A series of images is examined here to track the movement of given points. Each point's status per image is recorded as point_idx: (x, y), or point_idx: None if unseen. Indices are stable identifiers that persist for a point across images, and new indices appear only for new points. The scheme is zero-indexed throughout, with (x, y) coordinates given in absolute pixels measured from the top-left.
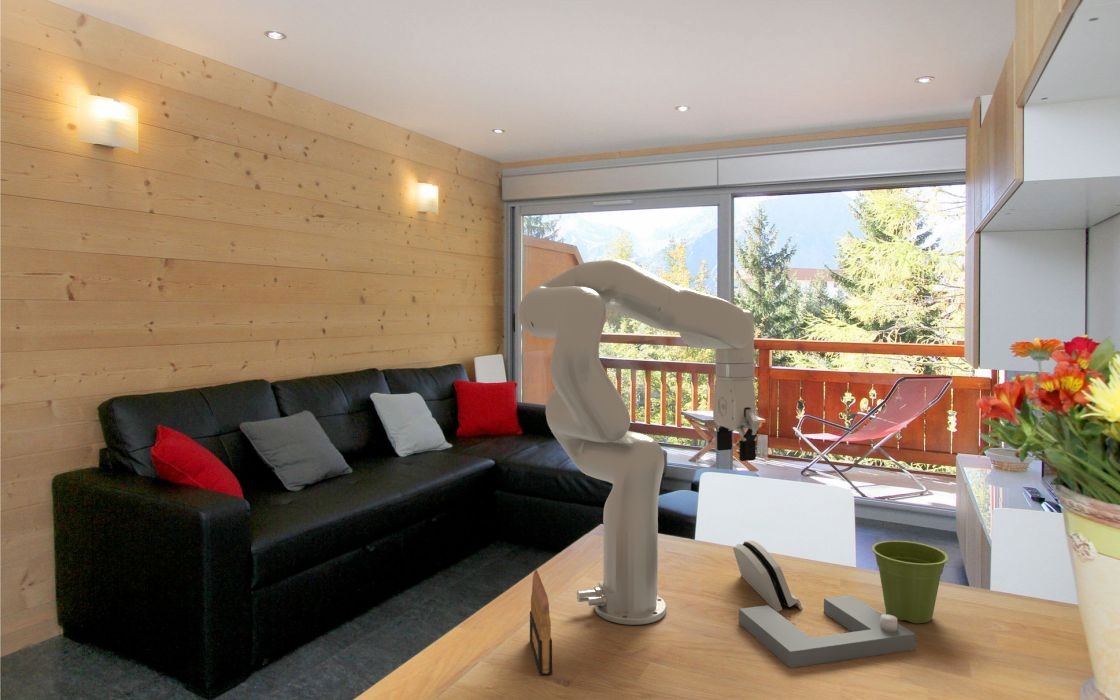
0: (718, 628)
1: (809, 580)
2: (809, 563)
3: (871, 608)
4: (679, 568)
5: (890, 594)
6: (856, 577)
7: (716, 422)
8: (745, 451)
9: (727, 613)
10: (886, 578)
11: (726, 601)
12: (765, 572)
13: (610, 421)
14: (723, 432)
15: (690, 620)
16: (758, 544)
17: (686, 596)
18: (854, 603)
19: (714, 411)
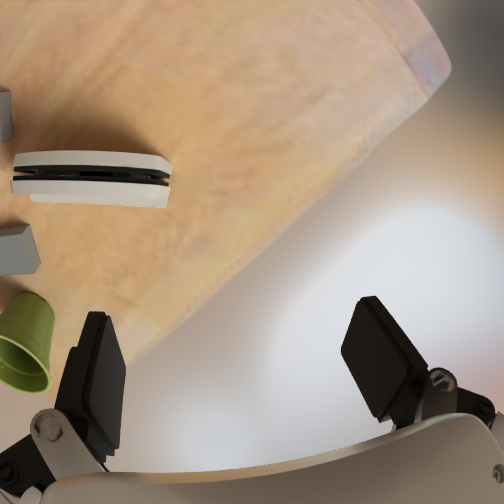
0: (5, 58)
1: (133, 261)
2: (199, 293)
3: (2, 273)
4: (238, 65)
5: (11, 307)
6: (139, 321)
7: (428, 431)
8: (71, 365)
9: (38, 82)
10: (5, 317)
11: (74, 93)
12: (13, 162)
13: None
14: (394, 389)
15: (34, 22)
16: (80, 193)
17: (110, 32)
18: (12, 263)
19: (495, 482)
